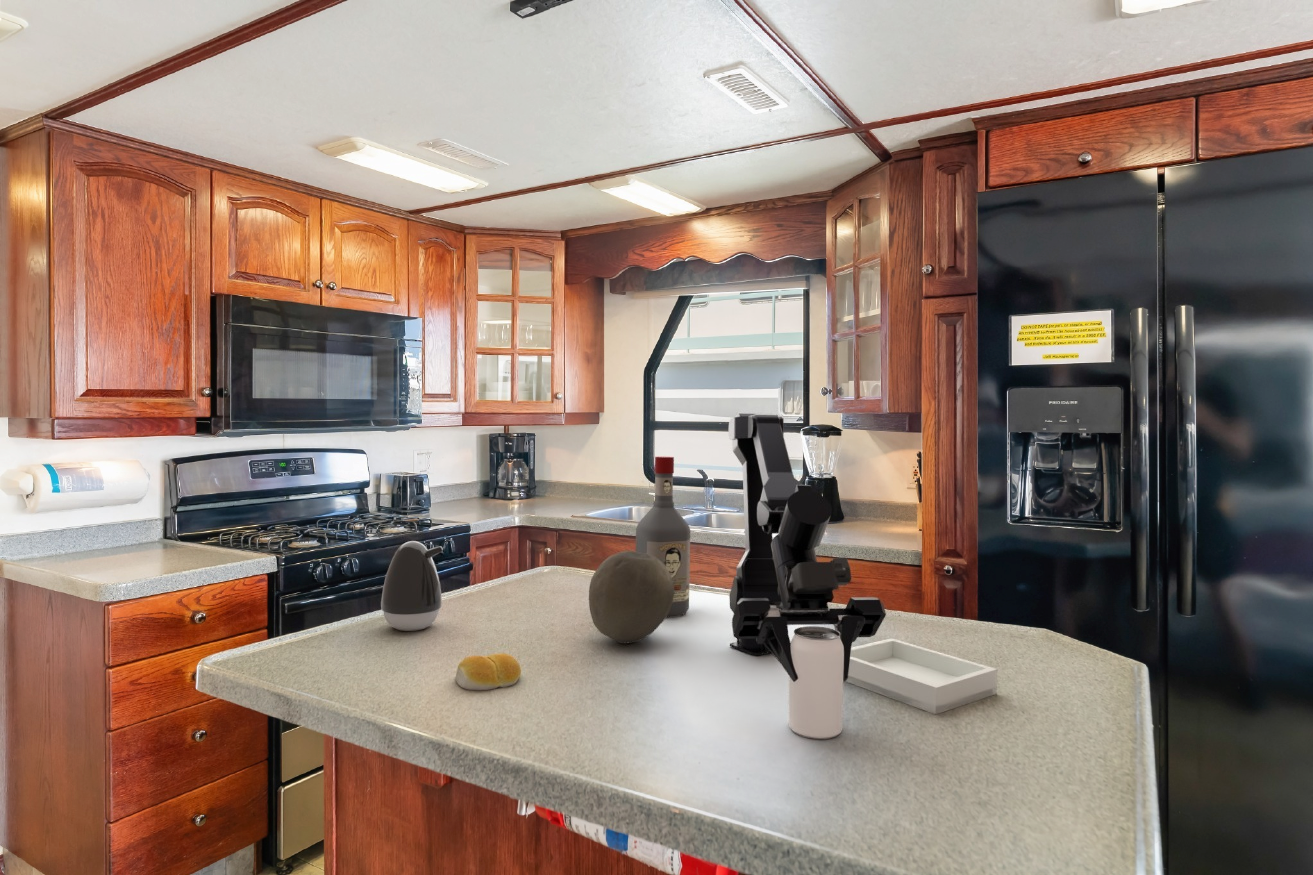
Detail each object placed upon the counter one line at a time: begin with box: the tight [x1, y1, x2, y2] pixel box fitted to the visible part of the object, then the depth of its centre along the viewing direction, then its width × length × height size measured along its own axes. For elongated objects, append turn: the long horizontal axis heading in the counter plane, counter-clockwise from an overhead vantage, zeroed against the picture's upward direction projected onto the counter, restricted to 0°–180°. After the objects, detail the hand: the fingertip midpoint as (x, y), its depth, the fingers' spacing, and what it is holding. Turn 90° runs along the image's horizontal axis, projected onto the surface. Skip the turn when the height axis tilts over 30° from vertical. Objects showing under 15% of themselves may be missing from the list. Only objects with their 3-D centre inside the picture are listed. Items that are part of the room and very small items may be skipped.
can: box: [788, 625, 844, 740], centre depth 97 cm, size 6×6×12 cm
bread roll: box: [454, 653, 522, 691], centre depth 113 cm, size 8×9×4 cm
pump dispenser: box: [380, 540, 444, 632], centre depth 140 cm, size 10×10×15 cm
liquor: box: [635, 456, 691, 618], centre depth 154 cm, size 9×9×30 cm
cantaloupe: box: [588, 550, 674, 644], centre depth 134 cm, size 14×14×15 cm
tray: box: [845, 638, 998, 715], centre depth 115 cm, size 18×14×4 cm
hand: (820, 679), depth 96 cm, fingers closed on can, 6 cm apart
